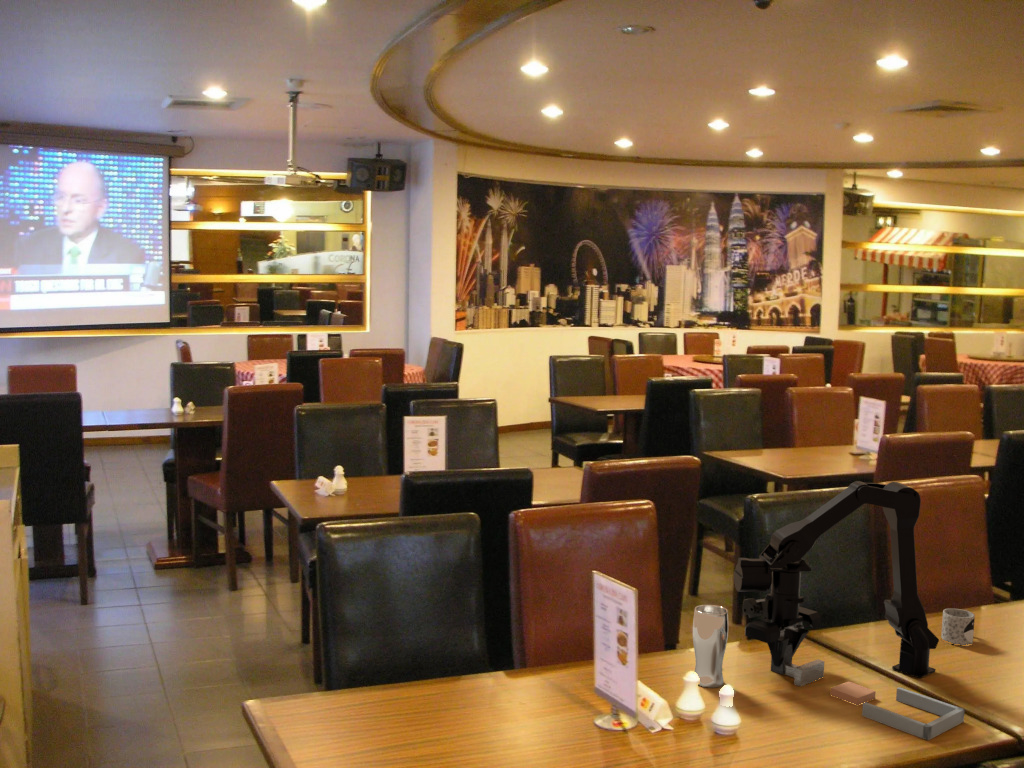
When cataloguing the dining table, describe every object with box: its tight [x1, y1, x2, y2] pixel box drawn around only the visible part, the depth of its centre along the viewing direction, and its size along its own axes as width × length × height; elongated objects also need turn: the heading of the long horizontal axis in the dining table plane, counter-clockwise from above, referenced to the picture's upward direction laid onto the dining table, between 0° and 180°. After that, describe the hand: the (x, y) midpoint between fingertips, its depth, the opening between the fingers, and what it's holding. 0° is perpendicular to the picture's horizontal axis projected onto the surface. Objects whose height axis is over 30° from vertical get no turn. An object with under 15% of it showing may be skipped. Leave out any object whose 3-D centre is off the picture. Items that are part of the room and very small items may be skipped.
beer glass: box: [692, 604, 729, 689], centre depth 207 cm, size 7×7×15 cm
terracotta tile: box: [830, 680, 877, 706], centre depth 201 cm, size 6×6×2 cm
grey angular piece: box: [770, 642, 825, 688], centre depth 212 cm, size 8×9×6 cm
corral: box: [861, 687, 966, 741], centre depth 192 cm, size 13×13×2 cm
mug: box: [940, 608, 976, 645], centre depth 236 cm, size 10×7×7 cm, turn 147°
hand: (781, 664), depth 214 cm, fingers closed on grey angular piece, 3 cm apart
